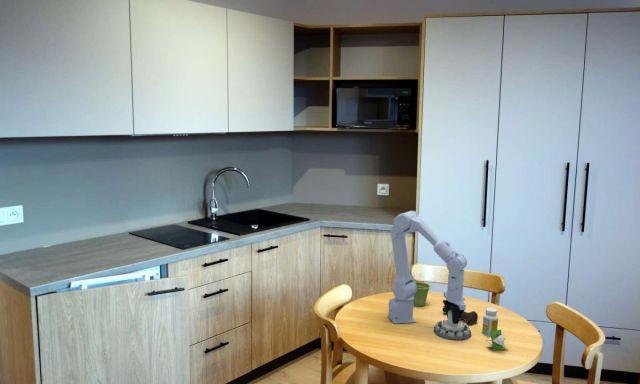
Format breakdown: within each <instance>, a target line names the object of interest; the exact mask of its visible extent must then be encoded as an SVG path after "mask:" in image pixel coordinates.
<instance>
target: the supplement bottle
mask: <svg viewBox="0 0 640 384" xmlns="http://www.w3.org/2000/svg"><path fill="white" fill-rule="evenodd" d="M497 311H498V310H497V309H496V308H495V307H486V308H485V313H484V314H483V320H482V330H481V331H482V334H483V335H485V336H486V337H491V332H490V331H492V330H498V325H499V316H498V315H497V313H498V312H497ZM489 333H490V334H489ZM489 335H490V336H489Z"/></svg>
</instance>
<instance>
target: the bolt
mask: <svg viewBox="0 0 640 384" xmlns="http://www.w3.org/2000/svg"><path fill="white" fill-rule="evenodd" d="M442 312H443V313H445V314H447V313H446V308H445V305H443V306H442ZM478 319H479V314H478V313H477V312H476V310H472V311H469V312H467V311H465V310H464V312H463V313H462V315H461V317H460V320H464V321H466V322H467V325H468V326H474V325H476V324H477V322H478Z"/></svg>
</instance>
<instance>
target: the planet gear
mask: <svg viewBox="0 0 640 384" xmlns="http://www.w3.org/2000/svg"><path fill="white" fill-rule="evenodd" d="M447 320H448V321H444V322H443V321H442V323H441V326H442V329H446V331H452V332H455V331H459V332H461V330H464V326H463V324H460V323H458V324H453V322H452V312H451V310H449V311H448V319H447Z"/></svg>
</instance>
